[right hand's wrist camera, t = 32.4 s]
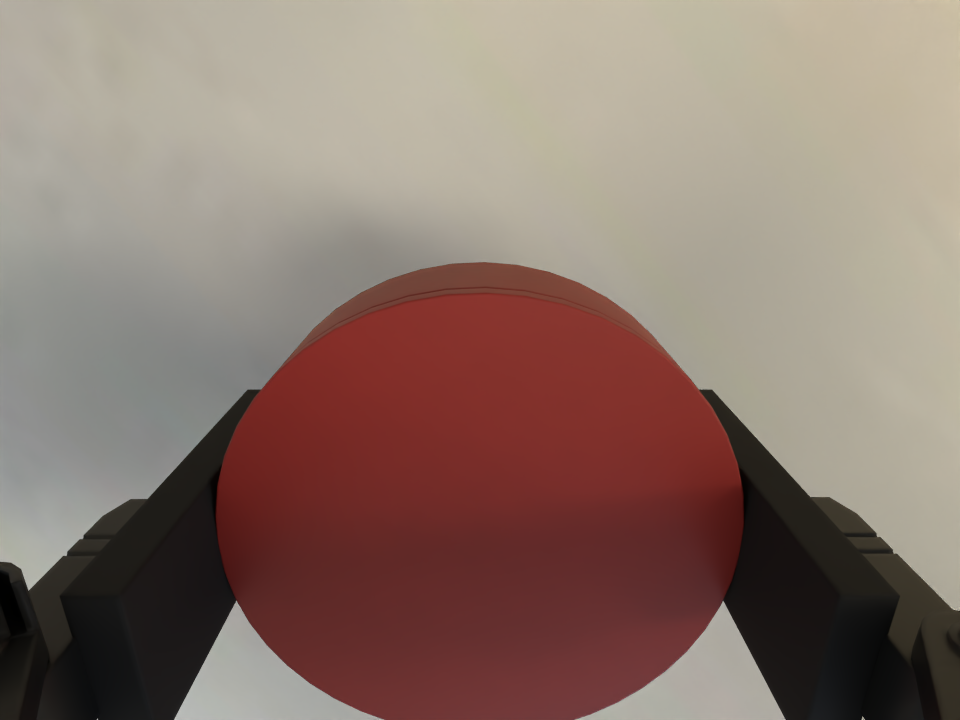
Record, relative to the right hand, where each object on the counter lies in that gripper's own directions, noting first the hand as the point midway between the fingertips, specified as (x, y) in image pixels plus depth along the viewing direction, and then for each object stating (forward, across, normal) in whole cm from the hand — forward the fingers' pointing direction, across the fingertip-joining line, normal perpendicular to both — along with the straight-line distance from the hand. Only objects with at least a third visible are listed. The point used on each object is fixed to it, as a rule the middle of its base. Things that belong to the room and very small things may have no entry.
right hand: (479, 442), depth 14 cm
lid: (-4, 0, 0) cm, 4 cm away
